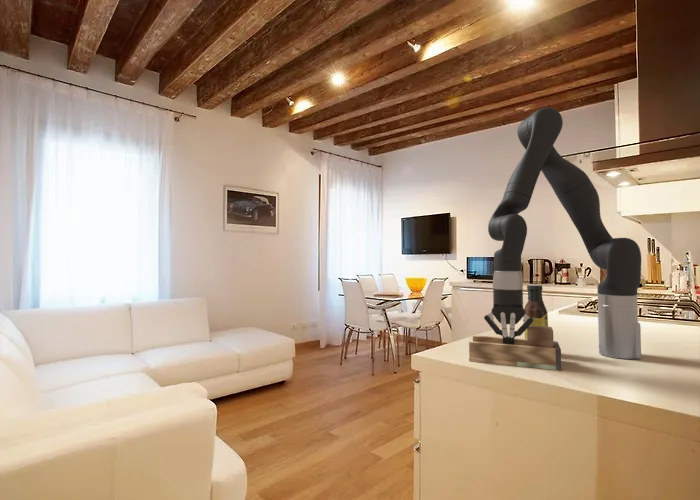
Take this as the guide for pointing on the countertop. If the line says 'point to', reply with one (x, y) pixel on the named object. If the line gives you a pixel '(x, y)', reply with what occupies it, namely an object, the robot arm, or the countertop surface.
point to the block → (540, 336)
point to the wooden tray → (514, 353)
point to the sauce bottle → (536, 307)
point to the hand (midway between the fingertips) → (508, 350)
